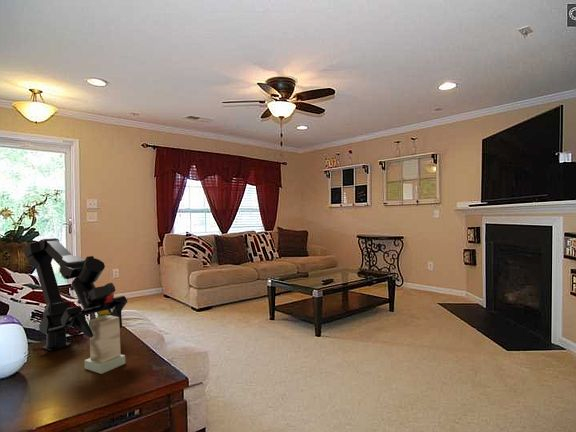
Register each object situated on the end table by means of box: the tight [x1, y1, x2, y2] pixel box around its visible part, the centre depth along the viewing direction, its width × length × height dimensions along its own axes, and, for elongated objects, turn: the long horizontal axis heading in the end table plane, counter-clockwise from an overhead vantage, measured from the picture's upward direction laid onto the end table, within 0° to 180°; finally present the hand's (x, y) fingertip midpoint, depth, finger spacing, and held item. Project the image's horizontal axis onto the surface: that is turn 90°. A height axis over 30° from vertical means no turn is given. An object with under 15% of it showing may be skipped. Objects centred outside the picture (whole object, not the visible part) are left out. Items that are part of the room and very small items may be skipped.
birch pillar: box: [88, 315, 122, 363], centre depth 110 cm, size 6×6×12 cm
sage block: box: [84, 354, 126, 375], centre depth 110 cm, size 8×8×3 cm
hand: (107, 332), depth 109 cm, fingers open, 9 cm apart
